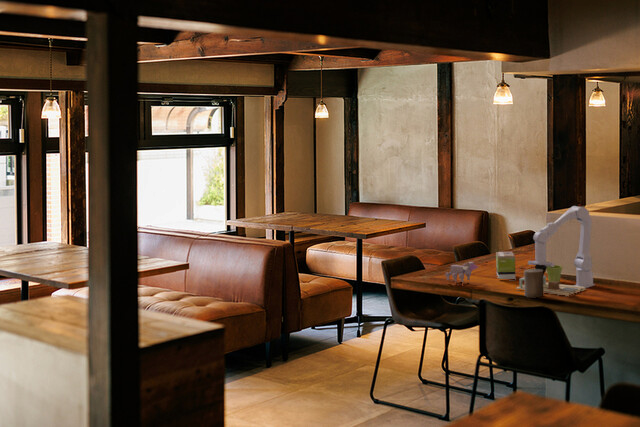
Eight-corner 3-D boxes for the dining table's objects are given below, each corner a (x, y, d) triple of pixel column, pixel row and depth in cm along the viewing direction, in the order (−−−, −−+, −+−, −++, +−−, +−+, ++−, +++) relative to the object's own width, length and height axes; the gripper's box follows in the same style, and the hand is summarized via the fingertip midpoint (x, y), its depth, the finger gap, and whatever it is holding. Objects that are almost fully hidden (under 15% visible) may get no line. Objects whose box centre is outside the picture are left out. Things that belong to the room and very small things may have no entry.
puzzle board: (534, 283, 448) (534, 281, 448) (585, 289, 428) (585, 287, 427) (516, 290, 434) (516, 287, 434) (567, 296, 413) (567, 293, 413)
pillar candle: (547, 296, 415) (546, 268, 413) (530, 298, 412) (530, 270, 410) (537, 293, 424) (536, 265, 422) (520, 295, 421) (520, 267, 420)
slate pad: (565, 287, 427) (565, 287, 427) (578, 289, 422) (578, 288, 422) (559, 290, 422) (559, 289, 422) (571, 291, 417) (571, 291, 417)
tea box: (496, 275, 476) (495, 251, 474) (513, 275, 475) (513, 251, 473) (498, 280, 461) (497, 255, 460) (516, 280, 460) (515, 255, 458)
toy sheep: (484, 284, 452) (483, 261, 450) (474, 288, 444) (473, 265, 442) (454, 281, 466) (453, 258, 464) (444, 285, 458) (442, 262, 456)
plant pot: (556, 284, 445) (556, 268, 444) (542, 282, 452) (542, 266, 451) (566, 281, 452) (565, 266, 451) (551, 279, 459) (551, 264, 458)
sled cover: (532, 282, 444) (532, 272, 443) (546, 284, 438) (545, 274, 438) (519, 287, 433) (519, 276, 433) (532, 288, 428) (532, 278, 427)
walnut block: (552, 290, 430) (552, 281, 430) (559, 291, 427) (559, 282, 427) (548, 291, 427) (548, 282, 427) (555, 292, 424) (555, 283, 424)
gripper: (524, 253, 433) (525, 278, 434) (549, 256, 422) (549, 281, 424) (531, 252, 438) (531, 276, 439) (555, 254, 427) (556, 279, 429)
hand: (541, 278), depth 432 cm, fingers closed
